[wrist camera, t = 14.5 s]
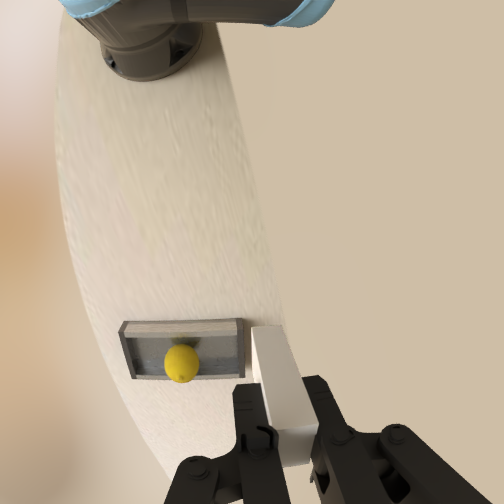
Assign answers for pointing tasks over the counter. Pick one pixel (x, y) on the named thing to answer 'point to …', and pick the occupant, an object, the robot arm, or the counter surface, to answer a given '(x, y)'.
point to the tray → (189, 333)
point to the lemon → (181, 363)
